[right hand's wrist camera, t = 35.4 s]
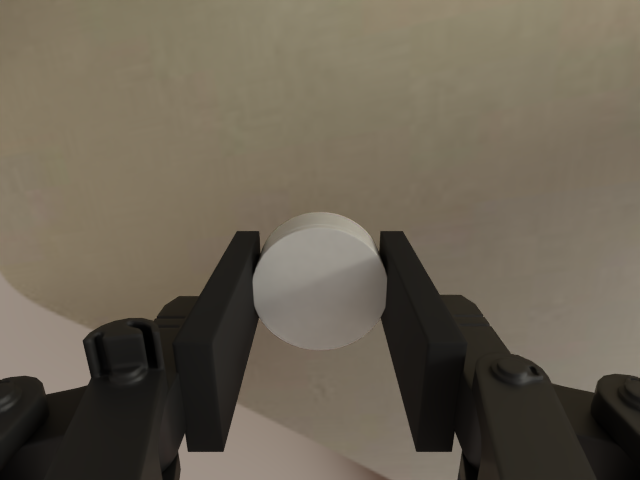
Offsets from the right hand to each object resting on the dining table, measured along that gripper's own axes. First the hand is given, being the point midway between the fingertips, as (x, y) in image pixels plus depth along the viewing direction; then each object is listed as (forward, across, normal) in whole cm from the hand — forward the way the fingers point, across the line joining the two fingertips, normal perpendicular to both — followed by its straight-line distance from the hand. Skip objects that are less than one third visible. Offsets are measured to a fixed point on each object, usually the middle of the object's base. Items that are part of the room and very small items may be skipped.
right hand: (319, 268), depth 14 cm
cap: (-1, 0, 0) cm, 1 cm away
